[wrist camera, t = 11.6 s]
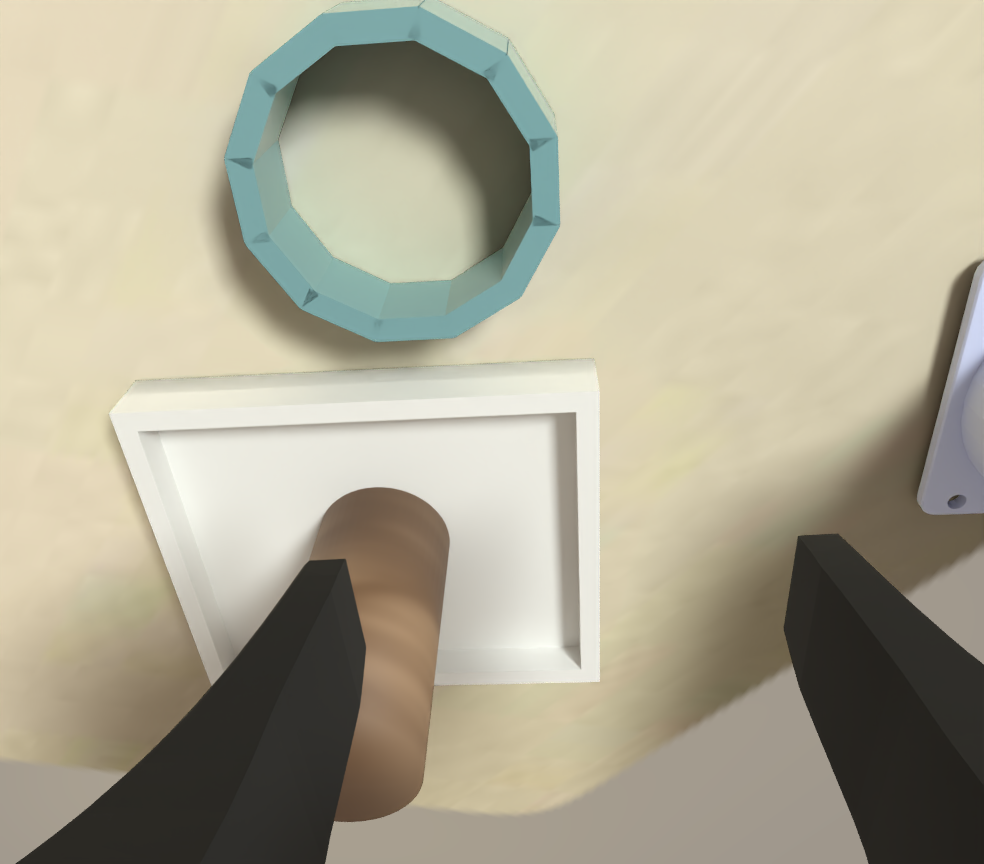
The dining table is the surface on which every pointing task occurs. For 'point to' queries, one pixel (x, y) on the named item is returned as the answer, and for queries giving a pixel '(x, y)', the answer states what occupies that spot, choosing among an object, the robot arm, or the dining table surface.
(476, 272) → the teal ring
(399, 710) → the dowel
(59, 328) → the dining table surface
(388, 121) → the dining table surface
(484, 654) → the tray
